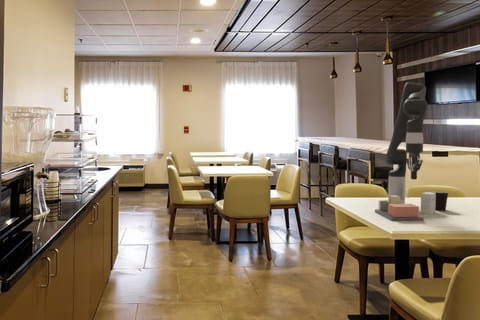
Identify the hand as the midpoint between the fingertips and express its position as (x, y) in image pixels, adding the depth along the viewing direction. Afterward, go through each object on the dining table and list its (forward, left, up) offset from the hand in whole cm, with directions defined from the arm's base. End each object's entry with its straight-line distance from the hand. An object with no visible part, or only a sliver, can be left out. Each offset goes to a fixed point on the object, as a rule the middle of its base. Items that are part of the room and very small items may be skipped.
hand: (413, 179), depth 206 cm
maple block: (-24, 0, -20) cm, 31 cm away
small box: (-27, +20, -21) cm, 40 cm away
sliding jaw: (-12, 0, -19) cm, 23 cm away
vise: (-18, 0, -21) cm, 28 cm away
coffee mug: (-35, +31, -21) cm, 51 cm away
